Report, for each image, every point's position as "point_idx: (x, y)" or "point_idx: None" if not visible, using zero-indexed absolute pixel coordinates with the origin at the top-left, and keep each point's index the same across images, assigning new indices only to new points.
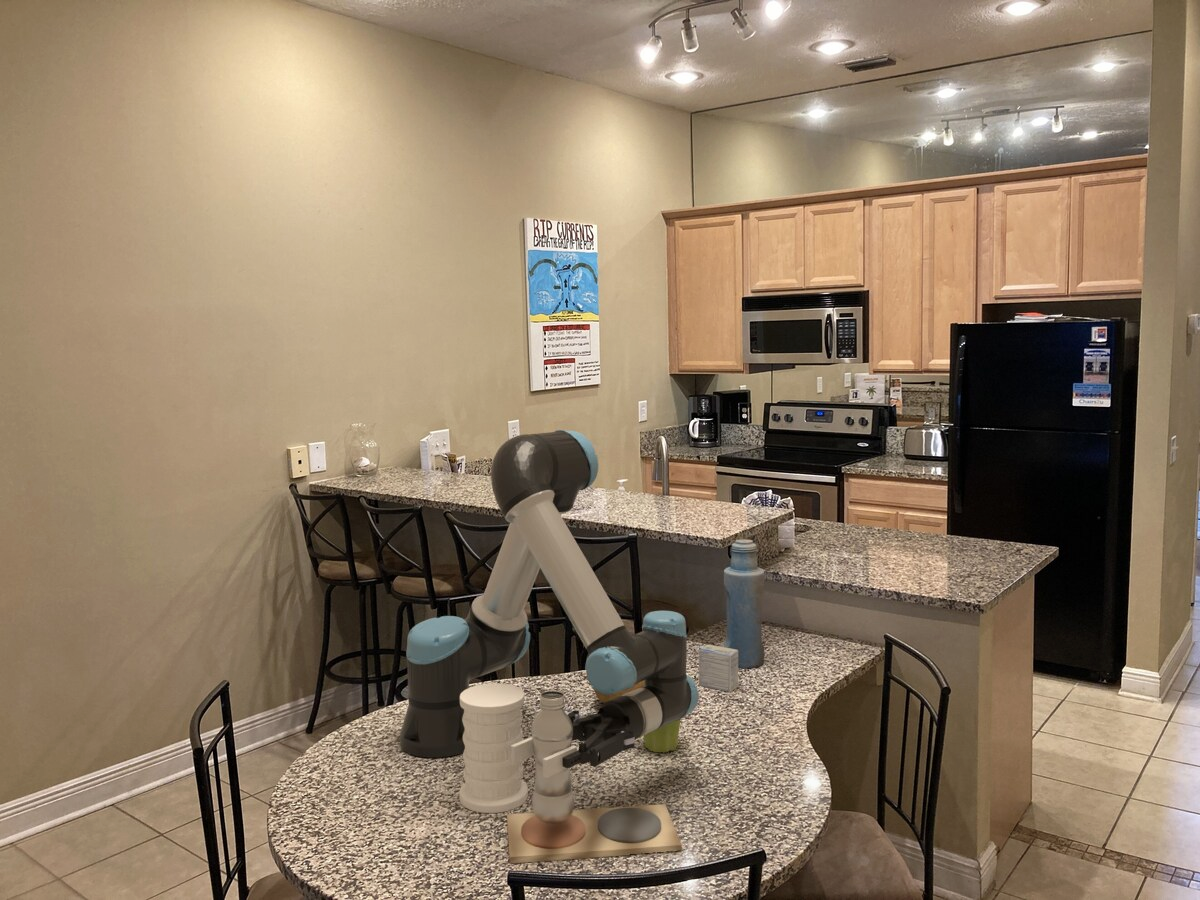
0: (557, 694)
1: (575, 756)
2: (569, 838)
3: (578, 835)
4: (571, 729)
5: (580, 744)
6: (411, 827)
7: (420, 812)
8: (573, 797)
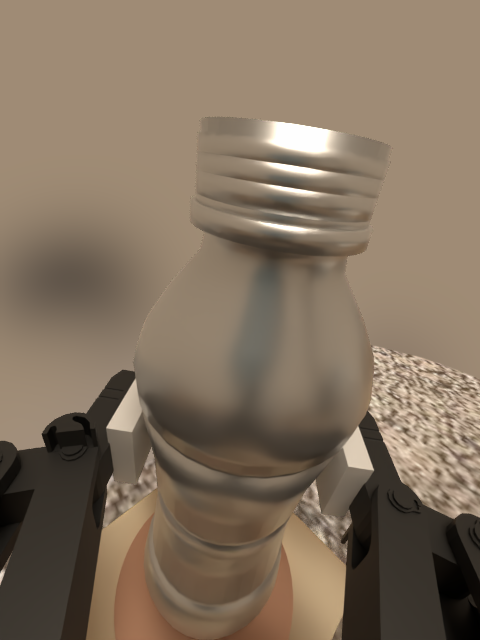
0: (324, 171)
1: (96, 400)
2: (142, 554)
3: (124, 588)
4: (135, 356)
5: (78, 416)
6: (414, 446)
7: (467, 491)
8: (149, 571)
